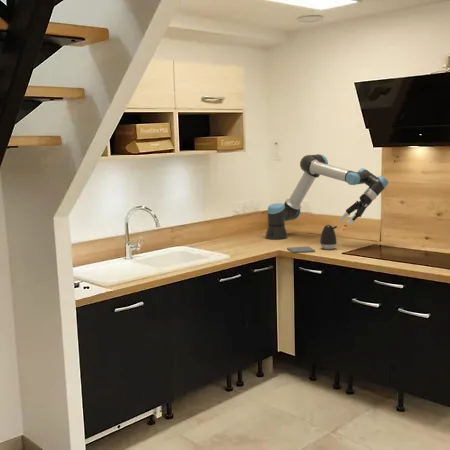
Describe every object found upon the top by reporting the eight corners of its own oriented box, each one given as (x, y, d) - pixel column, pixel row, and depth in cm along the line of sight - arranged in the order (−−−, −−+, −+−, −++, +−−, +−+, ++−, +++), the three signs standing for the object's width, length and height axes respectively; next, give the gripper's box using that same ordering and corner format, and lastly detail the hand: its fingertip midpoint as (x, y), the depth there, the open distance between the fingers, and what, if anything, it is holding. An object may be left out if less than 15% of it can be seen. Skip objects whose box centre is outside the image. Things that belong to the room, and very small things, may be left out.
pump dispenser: (336, 250, 354) (337, 225, 351) (319, 250, 356) (319, 225, 353) (337, 247, 363) (337, 223, 361) (320, 247, 366) (320, 223, 363)
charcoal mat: (287, 249, 361) (287, 247, 361) (308, 248, 363) (308, 246, 363) (292, 253, 348) (292, 251, 348) (315, 252, 351) (315, 250, 350)
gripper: (380, 203, 347) (356, 229, 347) (364, 199, 372) (341, 223, 372) (372, 194, 346) (347, 221, 346) (356, 191, 370) (333, 215, 370)
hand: (344, 222), depth 359 cm, fingers open, 13 cm apart
